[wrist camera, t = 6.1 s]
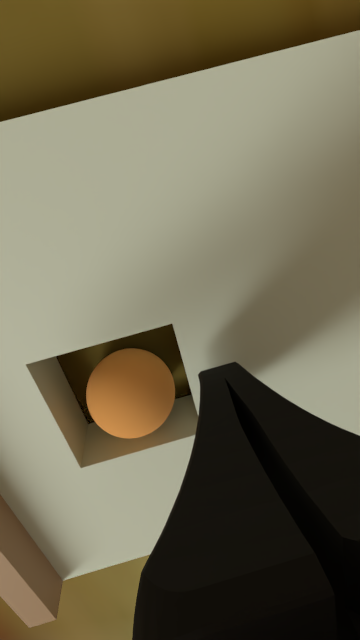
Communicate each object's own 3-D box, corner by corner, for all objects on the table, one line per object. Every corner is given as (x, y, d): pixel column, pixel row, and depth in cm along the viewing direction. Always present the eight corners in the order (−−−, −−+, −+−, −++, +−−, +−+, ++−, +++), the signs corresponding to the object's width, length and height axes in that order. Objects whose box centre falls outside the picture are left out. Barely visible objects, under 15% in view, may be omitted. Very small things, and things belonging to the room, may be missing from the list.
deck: (462, 412, 18) (544, 471, 15) (49, 534, 18) (29, 627, 14) (539, 2, 11) (749, -87, 7) (-186, 189, 10) (-366, 197, 6)
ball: (196, 422, 13) (129, 475, 11) (143, 391, 15) (80, 430, 13) (189, 348, 12) (111, 392, 10) (133, 327, 14) (60, 358, 12)
